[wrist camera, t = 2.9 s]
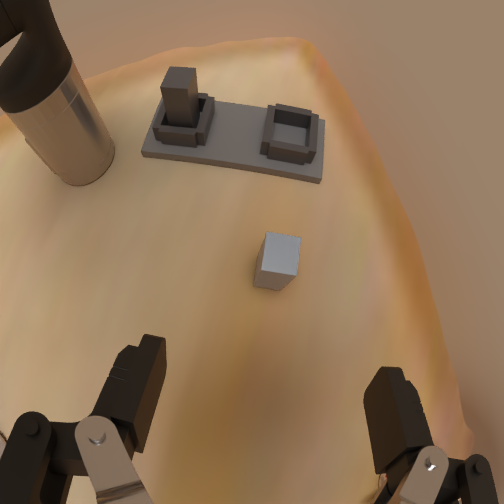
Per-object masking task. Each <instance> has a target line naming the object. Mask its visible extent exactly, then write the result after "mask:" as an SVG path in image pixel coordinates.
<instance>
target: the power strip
mask: <svg viewBox="0 0 504 504" xmlns="http://www.w3.org/2000/svg"><path fill="white" fill-rule="evenodd" d="M160 88H161V93H162V98H161V101H160V103H159V105H158V108H157V110H156V113H155V115H154V118H153V120H152V123H151V126H150V128H149V131H148V133H147V136H146V139H145V141H144V144H143V147H142V150H141V152H142V154H143V157H151V158H160V159H169V160H177V161H185V162H193V163H200V164H207V165H214V166H221V167H228V168H234V169H241V170H247V171H253V172H259V173H265V174H270V175H276V176H281V177H287V178H292V179H297V180H302V181H307V182H312V183H317V184H319V183H320V181H321V179H322V169H323V152H324V132H325V120H322V119H319V115H317V114H313V113H312V111H311V110H307V109H302V108H297V107H292V106H287V105H282V104H276V106H272V105H268V109H267V108H261V107H255V106H249V105H242V104H235V103H228V102H220V101H215V99H214V97H209V96H208V94H206V93H198V87H197V76H196V68H188V67H169V69H168V71H167V73H166V76H165V78H164V80H163V82H162V84H161V86H160Z"/></svg>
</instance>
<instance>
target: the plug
mask: <svg viewBox="0 0 504 504" xmlns="http://www.w3.org/2000/svg"><path fill="white" fill-rule="evenodd" d="M300 244H301V237H295V236H290V235H284V234H278V233H272V232H267V233H266V235H265V238H264V241H263V244H262V246H261V249H260V252H259V254H258V257H257V264H256V270H255V277H254V283H253V286H254V287H260V288H266V289H273V290H279V291H280V290H281V289H282V288H284V287H285V286H286V285H287V284H288V283H289V282H290V281H291V280H292V279H294V278H295V277H296V276H297V269H298V261H299V252H300Z"/></svg>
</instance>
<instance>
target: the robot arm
mask: <svg viewBox="0 0 504 504" xmlns="http://www.w3.org/2000/svg"><path fill="white" fill-rule="evenodd" d="M21 32H23V33H22V35H21V37H20V39H19V41H18V42H17V44H16V46H15V47H14V48H13V50H12V51H11V53H10V54H9V55H8V56H7V58H6V59H5V60H4V62H3V63H2V65H1V66H0V107H1V108H2V110H3V111H4V112H5V113H6V114H7V116H8V117H9V118H10V119H11V120H12V122H13V123H14V124H15V125H16V126H17V128H18V129H19V130H20V131H21V132H22V134H23V135H24V136H25V140H26V142H27V143H28V145H29V146H30V147H31V148H32V149H33V150H34V151H35V153H36V154H37V155H38V156H39V157H40V158H41V159H42V160H43V161H44V163H45V164H46V165H47V166H48V167H49V168H50V169H51V170H52V171H53V172H54V173H55V174H58V175H59V176H60V177H61V178H62V179H63V180H64V181H65V182H66V183H68V184H71V185H75V186H79V185H85V184H88V183H91V182H93V181H94V180H96V179H97V178H99V177H100V176H101V175H102V174H103V173H104V172H105V171H106V170H107V169H108V167H109V166H110V164H111V162H112V160H113V156H114V143H113V141H112V139H111V137H110V135H109V133H108V131H107V129H106V127H105V125H104V123H103V121H102V119H101V117H100V115H99V113H98V111H97V109H96V107H95V105H94V103H93V101H92V99H91V97H90V95H89V93H88V91H87V88H86V86H85V84H84V82H83V80H82V78H81V76H80V74H79V72H78V70H77V68H76V65H75V63H74V61H73V59H72V57H71V54H70V52H69V50H68V48H67V46H66V44H65V42H64V40H63V38H62V35H61V33H60V31H59V28H58V26H57V23H56V21H55V18H54V15H53V12H52V10H51V6H50V3H49V0H0V47H1V46H3V45H4V44H5V43H7V42H8V41H10V40H11V39H12V38H14V37H15V36H17V35H18V34H19V33H21ZM166 368H167V360H166V340H165V338H163V337H158V336H153V335H149V334H144V335H143V337H142V339H141V342H140V344H139V346H138V347H136V346H132V345H128V346H127V347H125V348H124V349H123V350H122V351H121V352H120V353H119V354H118V356H117V358H116V360H115V362H114V364H113V368H112V369H111V371H110V373H109V377H107V380H106V382H105V384H104V386H103V389H102V391H101V393H100V395H99V398H98V400H97V402H96V405H95V407H94V409H93V411H92V413H91V414H90V415H89V416H88V417H86V418H84V419H83V420H81V421H79V422H75V423H64V422H49V420H48V419H47V418H46V417H45V416H44V415H43V414H41V413H38V412H26V413H24V414H22V415H21V416H20V417H19V418H18V419H17V420H16V422H15V424H14V427H13V429H12V431H11V434H10V436H9V438H8V441H7V443H6V446H5V448H4V451H3V453H2V456H1V458H0V504H66V501H67V497H68V493H69V489H70V485H71V482H72V478H73V475H75V476H89V478H90V480H91V482H92V485H93V487H94V490H95V492H96V496H97V497H96V499H97V503H98V504H154V503H153V502H152V500H151V498H150V496H149V494H148V493H147V491H146V489H145V487H144V485H143V484H142V482H141V480H140V478H139V476H138V474H137V472H136V470H135V468H134V466H133V464H132V458H133V455H134V451H135V452H139V453H143V450H144V447H145V443H146V440H147V436H148V433H149V429H150V426H151V423H152V419H153V416H154V412H155V409H156V406H157V402H158V399H159V396H160V393H161V389H162V386H163V383H164V379H165V375H166ZM420 402H421V401H420V398H419V395H418V392H417V390H416V388H415V387H414V386H413V384H412V383H411V382H410V381H406V380H405V377H404V374H403V371H402V369H401V368H400V367H381V368H380V369H379V370H378V372H377V373H376V375H375V376H374V378H373V380H372V381H371V383H370V384H369V386H368V387H367V389H366V391H365V393H364V399H363V403H364V409H365V414H366V419H367V425H368V430H369V436H370V442H371V448H372V454H373V460H374V466H375V473H376V474H385V473H386V477H387V479H386V480H385V481H384V482H383V483H382V485H381V487H380V489H379V490H378V492H377V493H376V495H375V497H374V498H373V500H372V501H371V503H370V504H459V502H458V499H460V498H461V500H462V504H499V503H498V498H497V494H496V489H495V484H494V480H493V476H492V472H491V468H490V465H489V463H488V461H487V459H486V458H484V457H483V456H482V455H479V454H474V455H471V456H470V457H469V458H467V459H466V460H465V461H464V460H458V459H452V458H448V457H447V455H446V454H445V452H444V451H443V450H442V449H440V448H439V447H436V446H434V444H433V441H432V437H431V434H430V430H429V427H428V423H427V420H426V417H425V414H424V413H423V407H422V404H420Z"/></svg>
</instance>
